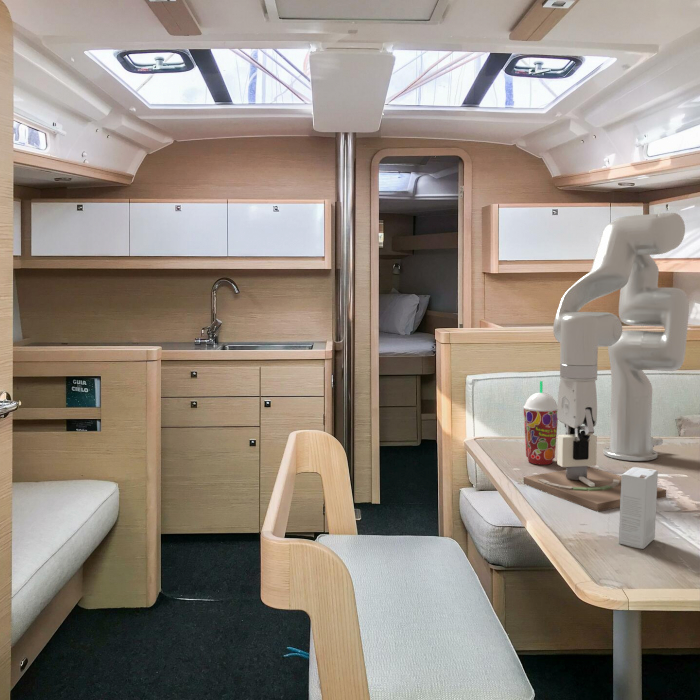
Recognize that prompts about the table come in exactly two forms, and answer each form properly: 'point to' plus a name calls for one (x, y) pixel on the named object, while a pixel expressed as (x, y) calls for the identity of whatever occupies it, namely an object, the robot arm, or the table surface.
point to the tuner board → (584, 488)
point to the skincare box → (638, 507)
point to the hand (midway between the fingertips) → (577, 456)
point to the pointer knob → (574, 467)
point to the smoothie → (540, 427)
